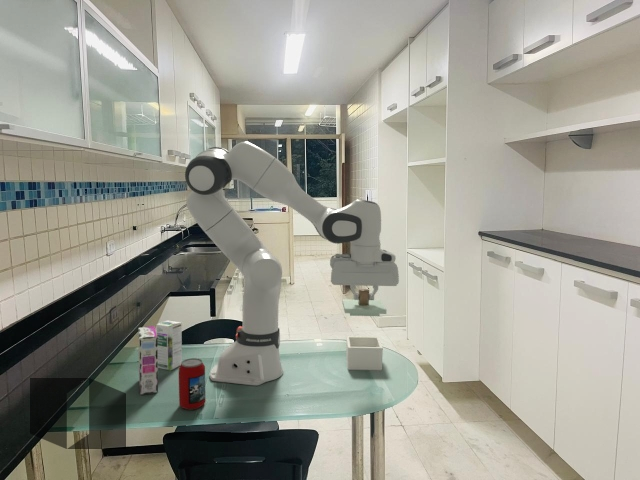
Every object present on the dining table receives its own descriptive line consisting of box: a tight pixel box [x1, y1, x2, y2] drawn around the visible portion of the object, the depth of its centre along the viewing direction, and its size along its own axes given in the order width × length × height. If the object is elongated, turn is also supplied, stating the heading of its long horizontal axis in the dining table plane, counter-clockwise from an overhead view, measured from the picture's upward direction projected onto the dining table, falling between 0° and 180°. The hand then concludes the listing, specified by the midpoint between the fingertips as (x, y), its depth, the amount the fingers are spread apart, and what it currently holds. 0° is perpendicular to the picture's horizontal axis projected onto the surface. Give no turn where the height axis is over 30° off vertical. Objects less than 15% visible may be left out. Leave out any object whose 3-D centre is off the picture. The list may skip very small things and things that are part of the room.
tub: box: [345, 335, 384, 371], centre depth 150 cm, size 11×11×8 cm
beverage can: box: [178, 357, 206, 411], centre depth 121 cm, size 7×7×12 cm
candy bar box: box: [137, 325, 159, 396], centre depth 132 cm, size 11×5×16 cm, turn 23°
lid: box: [342, 288, 387, 317], centre depth 137 cm, size 12×12×7 cm
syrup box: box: [155, 320, 183, 372], centre depth 147 cm, size 6×6×14 cm
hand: (363, 299), depth 137 cm, fingers closed on lid, 3 cm apart
